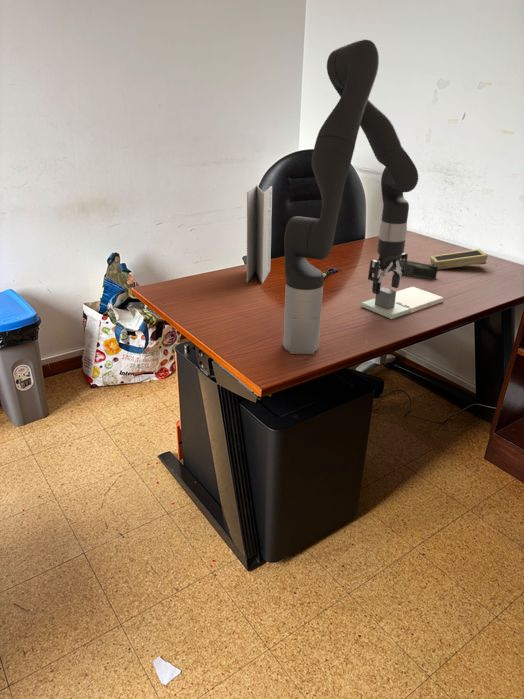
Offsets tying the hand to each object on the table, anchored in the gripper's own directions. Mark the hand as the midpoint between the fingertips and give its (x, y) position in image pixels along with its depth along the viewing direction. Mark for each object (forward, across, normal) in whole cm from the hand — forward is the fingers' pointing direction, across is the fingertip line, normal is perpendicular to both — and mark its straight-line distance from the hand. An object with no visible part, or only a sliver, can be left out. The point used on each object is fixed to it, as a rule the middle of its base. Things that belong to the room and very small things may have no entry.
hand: (385, 290), depth 157 cm
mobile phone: (+7, -34, -15) cm, 38 cm away
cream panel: (+6, -13, +1) cm, 14 cm away
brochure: (+7, +12, -46) cm, 48 cm away
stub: (+6, 0, +1) cm, 6 cm away
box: (+7, -54, -12) cm, 56 cm away
